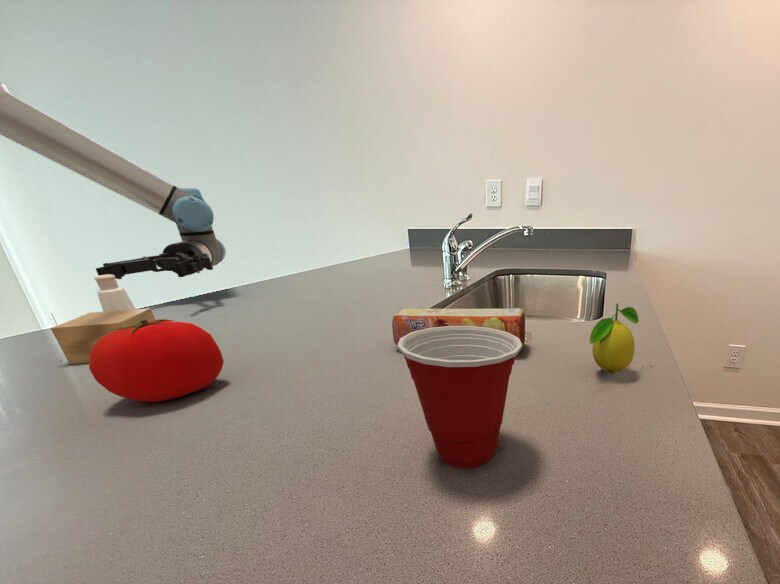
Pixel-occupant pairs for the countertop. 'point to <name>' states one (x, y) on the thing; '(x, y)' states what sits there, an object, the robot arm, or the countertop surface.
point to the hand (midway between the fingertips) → (140, 272)
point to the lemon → (614, 341)
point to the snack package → (459, 320)
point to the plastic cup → (462, 387)
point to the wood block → (94, 331)
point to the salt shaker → (112, 294)
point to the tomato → (156, 360)
